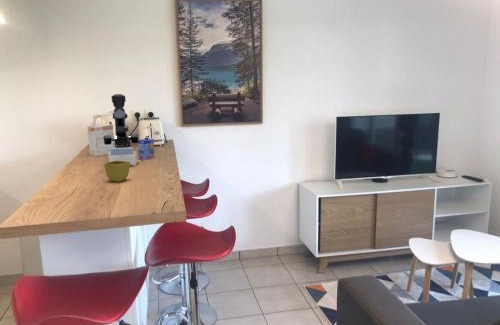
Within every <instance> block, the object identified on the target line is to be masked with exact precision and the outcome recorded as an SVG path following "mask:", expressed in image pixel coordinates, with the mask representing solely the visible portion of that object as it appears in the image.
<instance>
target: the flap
mask: <svg viewBox="0 0 500 325" xmlns="http://www.w3.org/2000/svg"><path fill="white" fill-rule="evenodd" d="M110 150H111V155H126V154H133V151H134V146H132V147H131V146H130V147H127V148H110Z"/></svg>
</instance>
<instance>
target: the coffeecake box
mask: <svg viewBox="0 0 500 325" xmlns="http://www.w3.org/2000/svg"><path fill="white" fill-rule="evenodd" d="M86 128H87V134H88V135H87V136H88V147H89V148H88V150H89V156H90V157H96V158H97V157H103V156H108V153H109V154H110V152H111V150H110V148H115V142H114V141H111V144H108V145H105V144H104V135H111V138H113V137H115V136H114V135H115V134H114V125H113V124H109V123H106V124H105V123H104V124H97V125H90V126H89V125H88V126H87V127H86Z"/></svg>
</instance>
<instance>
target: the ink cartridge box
mask: <svg viewBox="0 0 500 325" xmlns="http://www.w3.org/2000/svg"><path fill="white" fill-rule="evenodd" d="M154 142H155V139H154V138H150V135H146V136H145V137H144V138H142V139H138V143H137V149H138V150H137V151H138V155H137V156H138V160H141V161H147V160H150V159H154V158H155V143H154Z"/></svg>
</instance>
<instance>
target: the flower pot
mask: <svg viewBox="0 0 500 325" xmlns="http://www.w3.org/2000/svg"><path fill="white" fill-rule="evenodd" d="M103 165H104V169H105V170H104V171H105V173H106V174H105V175H106V177H107V179H108V180H109V181H110V182H118V183H120V182H123V181H126V179H127V178H128V176H129V173H130V166H131V165H130V162H128V161H112V162H109V161H108V162H105V163H103Z"/></svg>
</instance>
